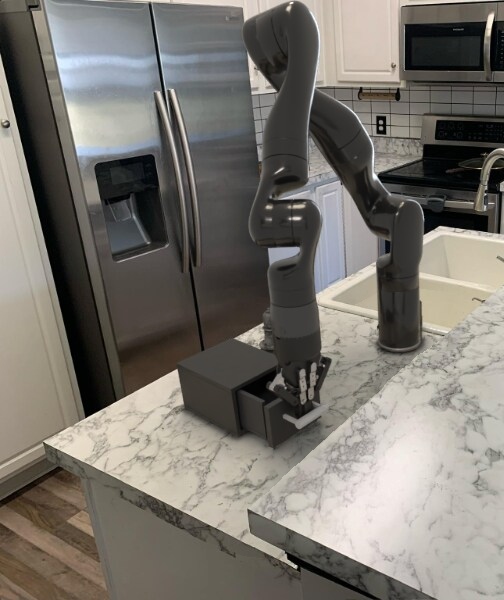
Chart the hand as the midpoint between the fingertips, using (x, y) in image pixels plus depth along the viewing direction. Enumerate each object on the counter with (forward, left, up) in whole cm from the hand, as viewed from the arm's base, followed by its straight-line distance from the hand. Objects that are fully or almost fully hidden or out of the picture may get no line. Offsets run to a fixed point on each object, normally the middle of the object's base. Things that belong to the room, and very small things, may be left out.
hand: (304, 418), depth 102 cm
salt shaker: (-17, -27, -5) cm, 33 cm away
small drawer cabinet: (0, -18, -4) cm, 19 cm away
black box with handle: (0, -7, -4) cm, 8 cm away
